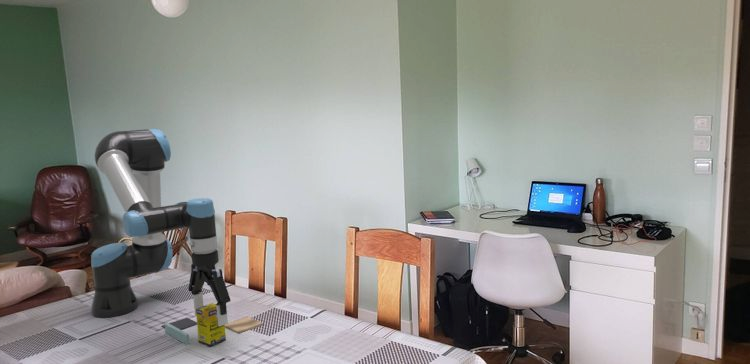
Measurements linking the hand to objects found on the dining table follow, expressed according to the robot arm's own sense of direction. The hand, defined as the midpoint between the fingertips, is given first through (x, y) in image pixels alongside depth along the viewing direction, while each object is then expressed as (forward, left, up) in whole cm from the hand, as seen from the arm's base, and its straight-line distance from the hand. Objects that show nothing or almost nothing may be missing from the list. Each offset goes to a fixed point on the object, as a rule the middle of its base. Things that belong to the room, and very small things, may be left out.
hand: (211, 319), depth 167 cm
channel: (-12, 0, -7) cm, 14 cm away
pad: (-4, +13, -7) cm, 15 cm away
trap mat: (-21, 0, -7) cm, 22 cm away
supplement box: (-1, 0, -8) cm, 8 cm away
